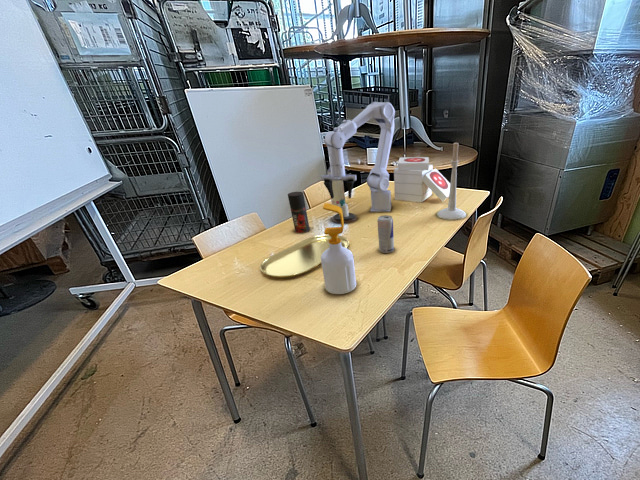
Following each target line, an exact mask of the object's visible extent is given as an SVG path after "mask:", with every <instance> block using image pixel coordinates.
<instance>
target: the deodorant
mask: <svg viewBox="0 0 640 480" xmlns="http://www.w3.org/2000/svg"><path fill="white" fill-rule="evenodd" d="M287 198H288V204H289V208H290V214H291V217H292V218H291V219H292V222H293V228H294V232H295V233H296V234H304V233H305V234H306V233H307V232H310V230H311V227H310V223H309V218H308V211H307V207H306V201H305V195H304V192H302V191H292V192H289V193H288V194H287Z"/></svg>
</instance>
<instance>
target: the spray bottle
mask: <svg viewBox="0 0 640 480" xmlns="http://www.w3.org/2000/svg"><path fill="white" fill-rule="evenodd" d="M339 202H340V203H339V205H338V206H339V207H340V208H341V209H342V211H343V220H350V219H353V218H354V214H355V213H353V212H350V211H349V204H348V203H346V198H345V199H341V200H340V201H339ZM333 216H334V219H336V220H340V221H341V219H340V215H339V214H338V213H336V214H334V215H333Z"/></svg>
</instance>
